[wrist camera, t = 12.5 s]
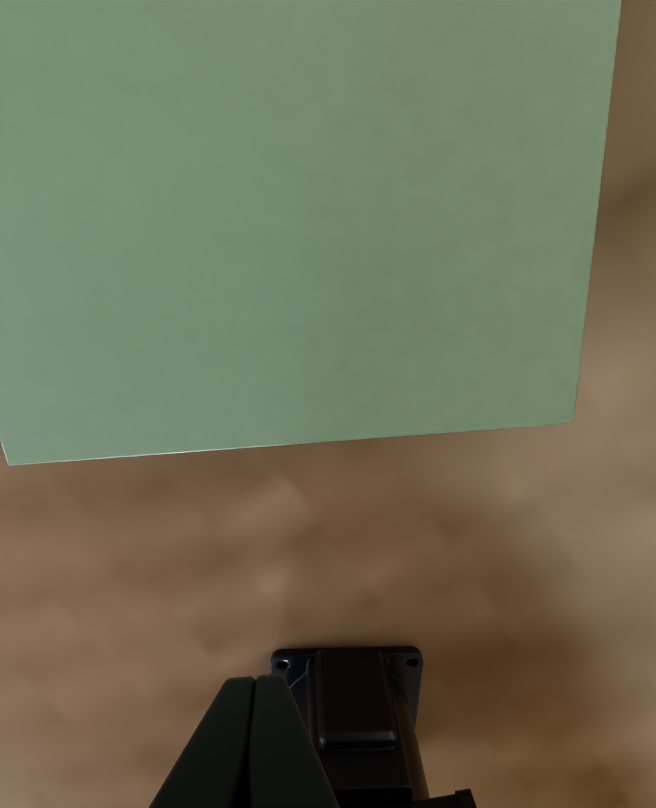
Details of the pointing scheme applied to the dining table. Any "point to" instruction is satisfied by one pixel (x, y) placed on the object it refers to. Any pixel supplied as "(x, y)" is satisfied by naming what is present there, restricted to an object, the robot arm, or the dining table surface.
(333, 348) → the lid
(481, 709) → the dining table surface
